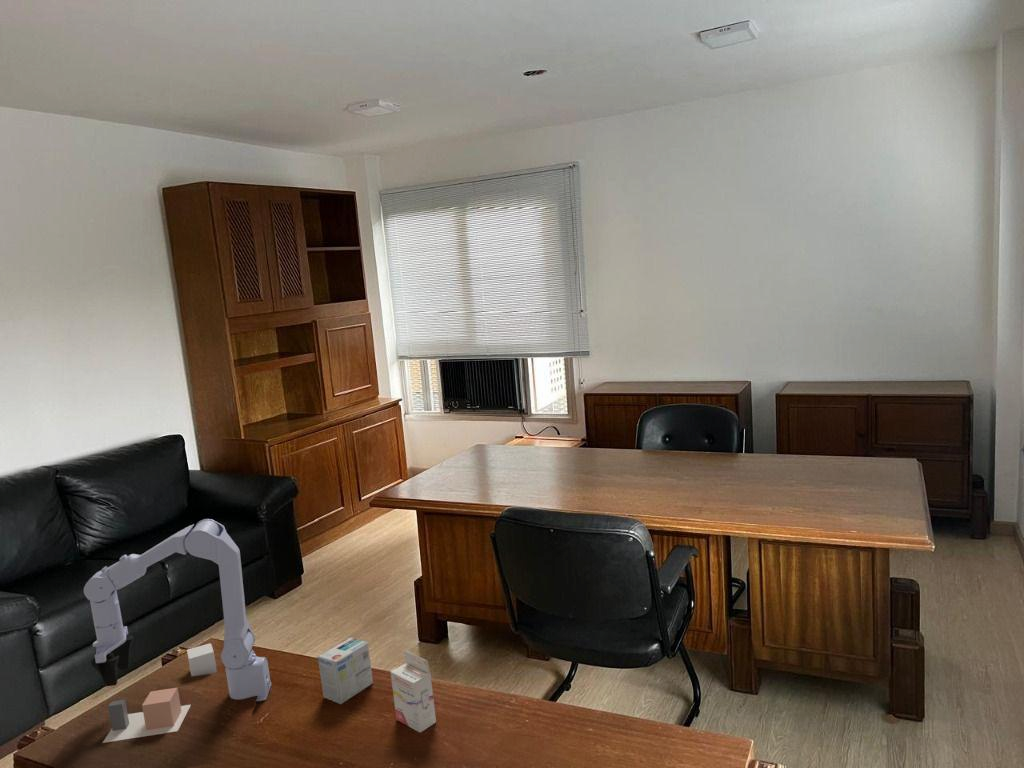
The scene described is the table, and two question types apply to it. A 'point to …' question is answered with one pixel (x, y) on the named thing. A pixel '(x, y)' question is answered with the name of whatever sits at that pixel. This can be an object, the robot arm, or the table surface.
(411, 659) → the ink cartridge box
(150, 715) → the block
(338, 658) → the light bulb box
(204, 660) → the white block
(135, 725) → the white flat board
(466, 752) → the table surface
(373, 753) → the table surface
